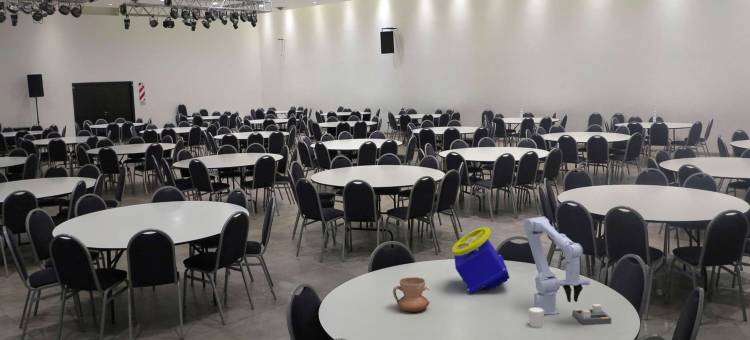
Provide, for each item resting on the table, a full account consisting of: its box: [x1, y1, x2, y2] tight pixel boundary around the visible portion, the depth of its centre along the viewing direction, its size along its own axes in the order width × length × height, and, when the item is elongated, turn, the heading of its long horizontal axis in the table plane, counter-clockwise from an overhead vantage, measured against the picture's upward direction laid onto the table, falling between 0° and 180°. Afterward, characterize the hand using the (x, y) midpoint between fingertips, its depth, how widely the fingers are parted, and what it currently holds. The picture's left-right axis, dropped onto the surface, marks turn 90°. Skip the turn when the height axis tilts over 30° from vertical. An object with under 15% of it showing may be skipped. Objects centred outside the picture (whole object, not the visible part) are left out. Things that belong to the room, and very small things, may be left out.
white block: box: [592, 303, 602, 313], centre depth 277 cm, size 3×3×4 cm
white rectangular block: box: [581, 309, 591, 319], centre depth 271 cm, size 3×3×4 cm
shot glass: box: [528, 306, 545, 328], centre depth 269 cm, size 7×7×7 cm
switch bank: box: [571, 308, 612, 326], centre depth 274 cm, size 13×11×2 cm
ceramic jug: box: [392, 276, 431, 313], centre depth 292 cm, size 18×14×14 cm
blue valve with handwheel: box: [451, 226, 511, 295], centre depth 316 cm, size 26×27×30 cm
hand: (572, 301), depth 270 cm, fingers open, 2 cm apart
